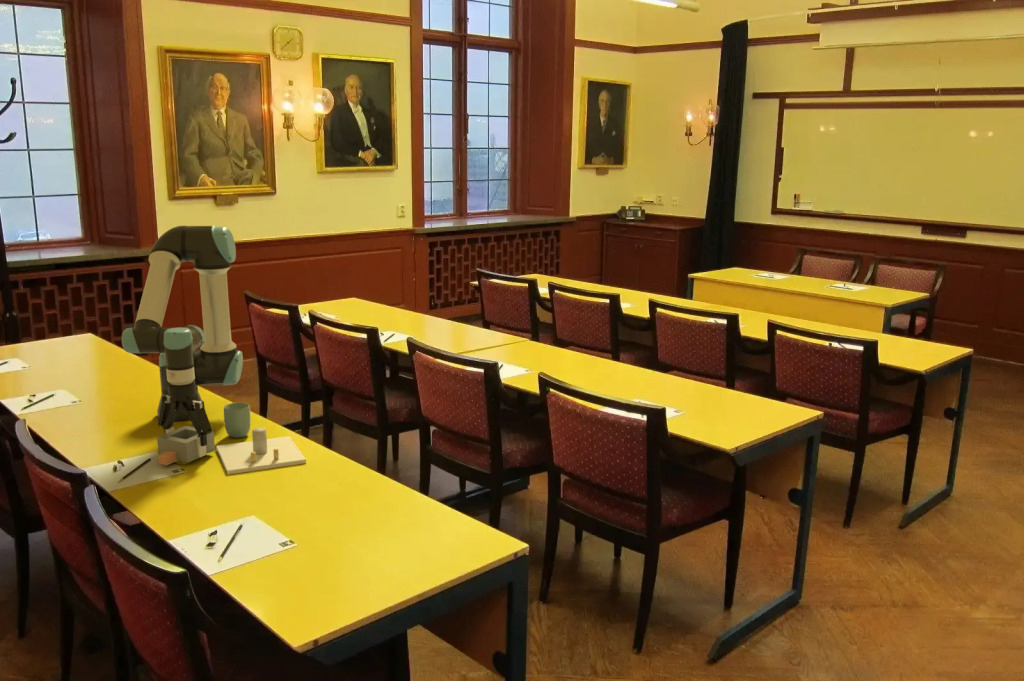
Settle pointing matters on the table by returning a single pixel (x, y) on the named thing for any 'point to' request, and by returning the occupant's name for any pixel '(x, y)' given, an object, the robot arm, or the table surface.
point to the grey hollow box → (181, 445)
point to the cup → (237, 419)
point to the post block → (259, 453)
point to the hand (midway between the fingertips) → (186, 452)
